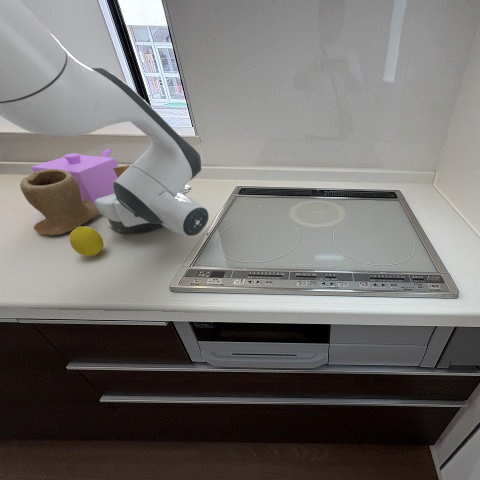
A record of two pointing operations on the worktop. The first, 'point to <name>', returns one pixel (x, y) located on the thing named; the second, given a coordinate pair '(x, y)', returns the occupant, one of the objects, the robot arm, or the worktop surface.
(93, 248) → the lemon
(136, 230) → the bowl
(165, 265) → the worktop surface
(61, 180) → the stone cup
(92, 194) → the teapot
